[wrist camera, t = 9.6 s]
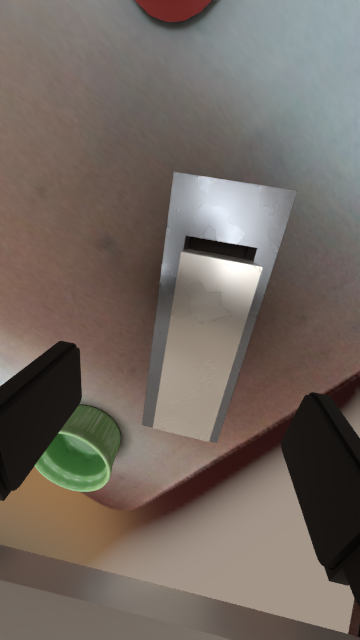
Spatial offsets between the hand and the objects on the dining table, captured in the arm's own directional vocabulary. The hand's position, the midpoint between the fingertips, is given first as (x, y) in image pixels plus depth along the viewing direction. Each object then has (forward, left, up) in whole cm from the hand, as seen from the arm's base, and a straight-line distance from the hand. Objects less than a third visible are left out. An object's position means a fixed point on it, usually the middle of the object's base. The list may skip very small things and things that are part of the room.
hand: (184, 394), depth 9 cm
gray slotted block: (+1, 0, -11) cm, 11 cm away
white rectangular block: (+1, 0, -11) cm, 11 cm away
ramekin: (+18, -10, -11) cm, 23 cm away
